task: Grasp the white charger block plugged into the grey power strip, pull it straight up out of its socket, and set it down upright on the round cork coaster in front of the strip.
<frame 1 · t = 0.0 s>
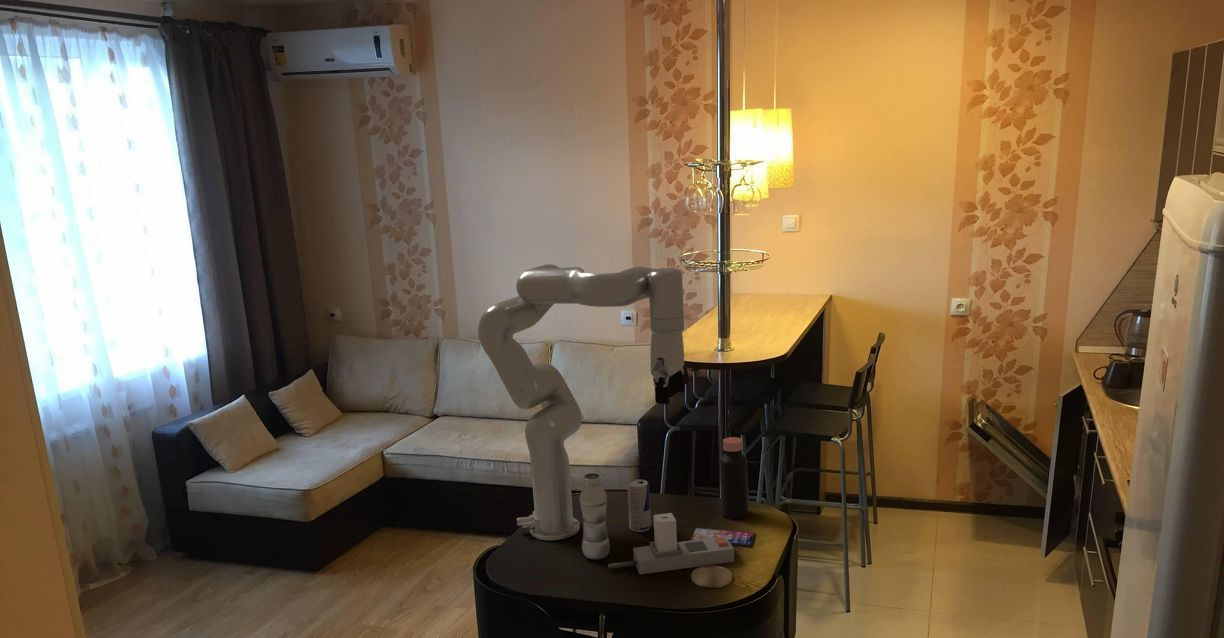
hand: (670, 397, 191), 37 cm above the table, tool pointing down, fingers open, 9 cm apart
charger: (666, 550, 191), point 3 cm above the table, touching power strip
energy drink: (640, 528, 210), on the table
smartphone: (722, 540, 203), on the table
coaster: (711, 577, 184), on the table
plastic bottle: (596, 557, 197), on the table
power strip: (683, 561, 192), on the table
vinegar: (734, 515, 215), on the table
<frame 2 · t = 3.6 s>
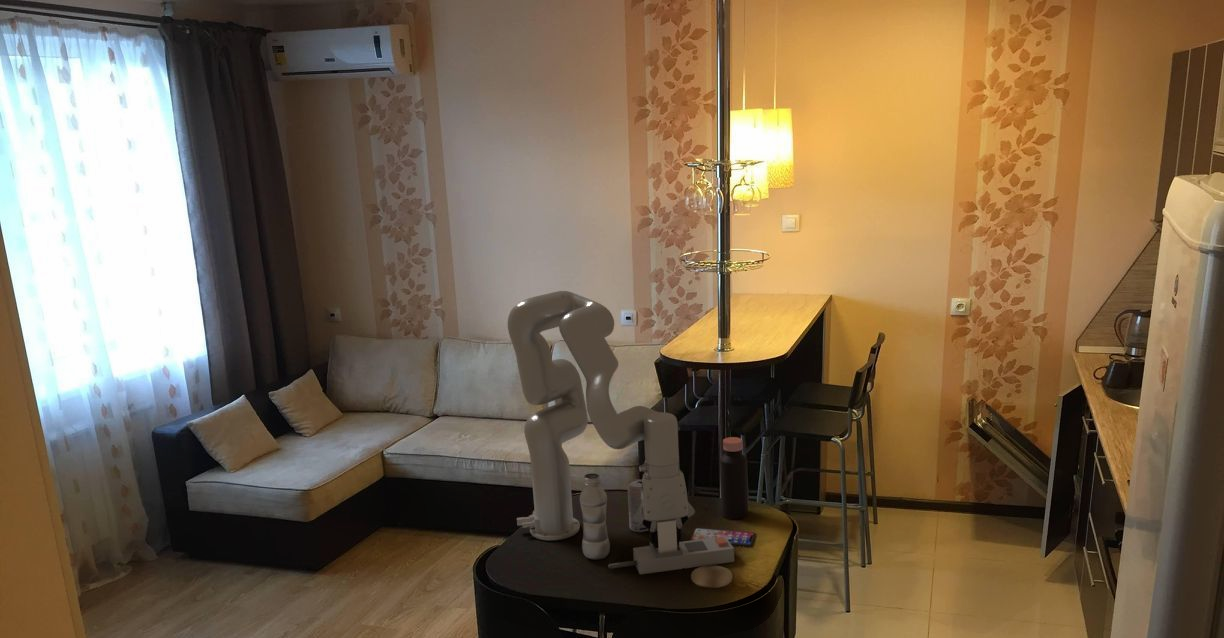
hand: (665, 543, 190), 5 cm above the table, tool pointing down, fingers closed on charger, 4 cm apart
charger: (666, 550, 191), point 3 cm above the table, touching gripper, power strip
everything else where it was.
when the fingers open (4 cm above the table, at t = 9.1 s): charger drops 1 cm, resting on coaster.
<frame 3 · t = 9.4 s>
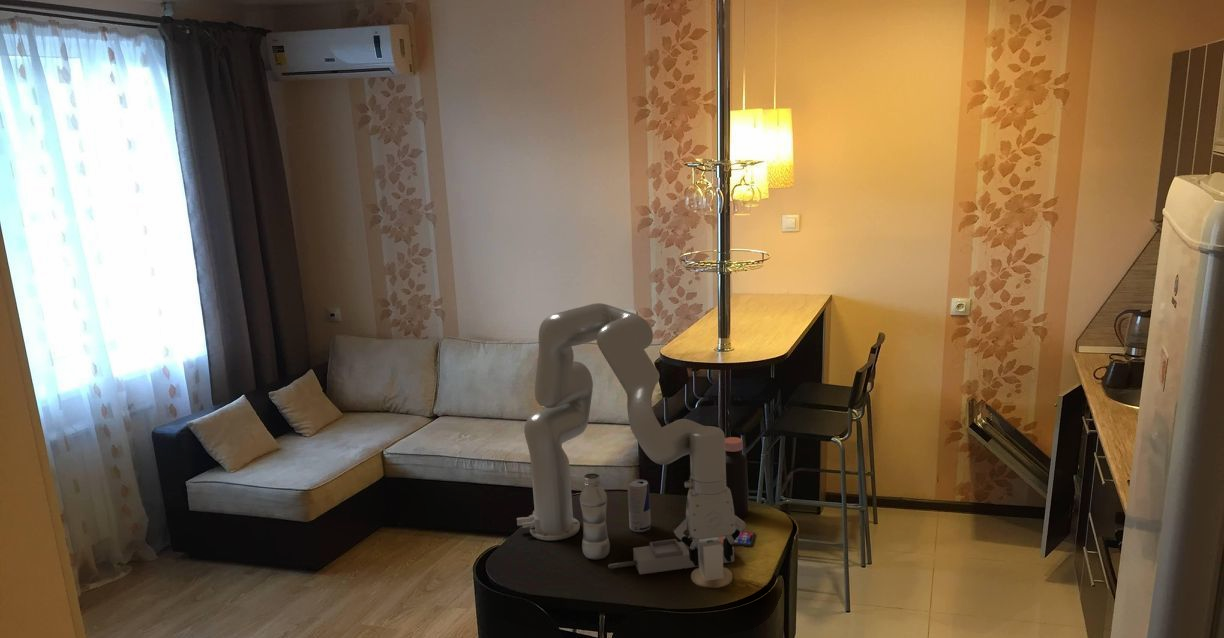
hand: (711, 560, 183), 4 cm above the table, tool pointing down, fingers open, 6 cm apart
charger: (711, 575, 184), point 1 cm above the table, touching coaster
everything else where it was.
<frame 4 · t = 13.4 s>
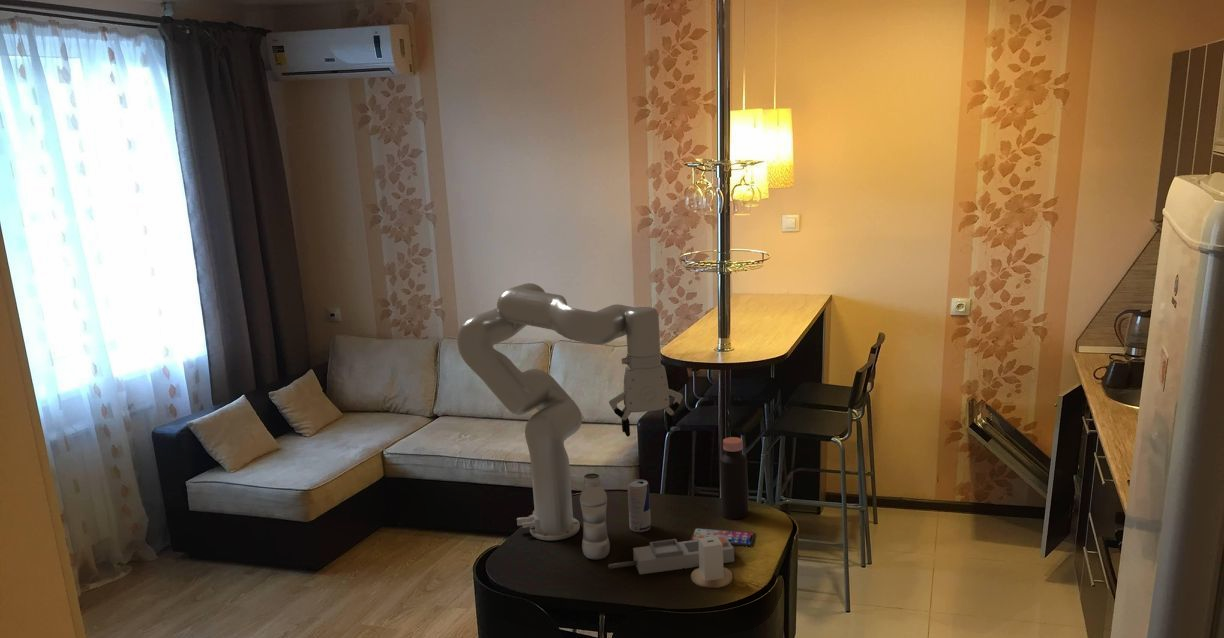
hand: (647, 432, 195), 28 cm above the table, tool pointing down, fingers open, 9 cm apart
nothing on the table moved.
at the end: charger inside the target area on the coaster (0.0 cm from its centre), point 0.6 cm above the coaster's base; charger tilted 0°; charger touching coaster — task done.
